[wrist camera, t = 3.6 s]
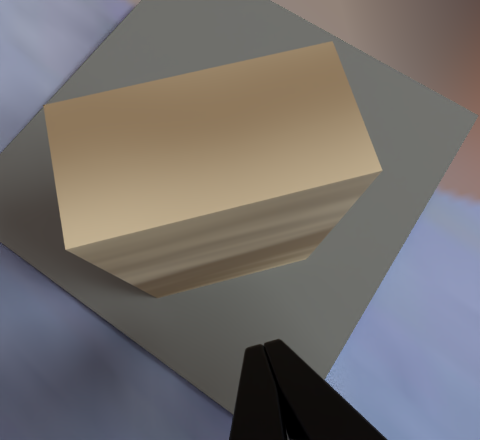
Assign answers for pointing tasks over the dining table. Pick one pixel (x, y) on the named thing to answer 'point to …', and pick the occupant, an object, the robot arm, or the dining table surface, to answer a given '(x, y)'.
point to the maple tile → (210, 169)
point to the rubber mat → (267, 281)
